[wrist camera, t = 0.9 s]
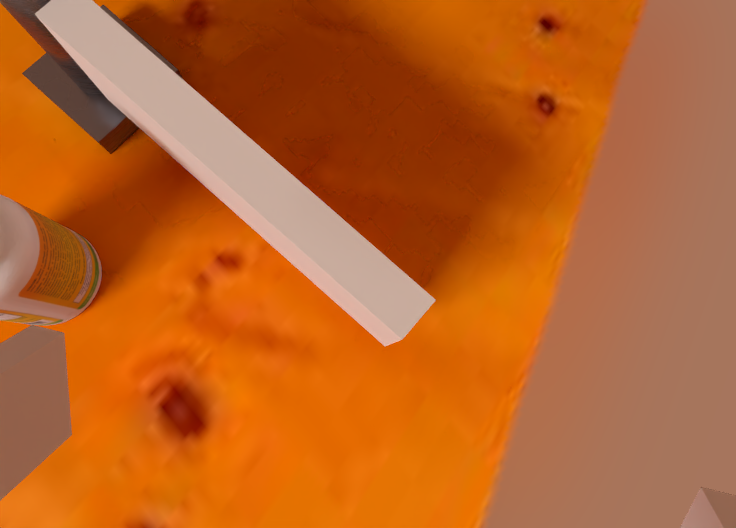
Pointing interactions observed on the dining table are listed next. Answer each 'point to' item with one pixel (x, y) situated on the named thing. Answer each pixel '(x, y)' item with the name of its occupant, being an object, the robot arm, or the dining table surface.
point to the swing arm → (239, 171)
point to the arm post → (74, 79)
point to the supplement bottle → (43, 268)
